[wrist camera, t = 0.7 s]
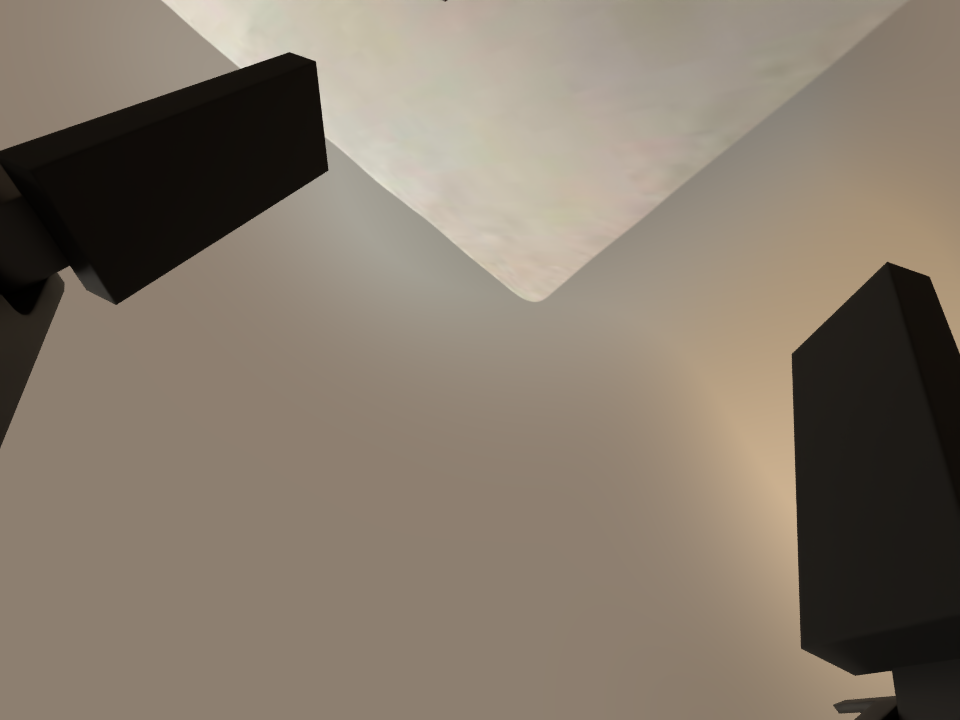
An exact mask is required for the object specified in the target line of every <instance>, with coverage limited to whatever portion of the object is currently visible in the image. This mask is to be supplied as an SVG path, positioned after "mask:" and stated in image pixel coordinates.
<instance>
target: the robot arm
mask: <svg viewBox="0 0 960 720" xmlns="http://www.w3.org/2000/svg"><path fill="white" fill-rule="evenodd" d="M327 171H328V162H327V154H326V146H325V136H324V128H323V119H322V110H321V102H320V93H319V84H318V76H317V67H316V61H313V60H310V59H307V58H305V57H302V56H299V55H296V54H293V53H290V52H289V53H286V54H283V55H280V56H277V57H274V58H271V59H268V60H265V61H262V62H259V63H257V64H254V65H251V66H248V67H245V68H242V69H239V70H236V71H233V72H231V73H227V74H224V75H221V76H218V77H216V78H212V79H210V80H207V81H204V82H201V83H198V84H195V85H192V86H189V87H186V88H183V89H181V90H177V91H174V92H171V93H168V94H166V95H163V96H160V97H157V98H154V99H151V100H148V101H145V102H142V103H139V104H136V105H133V106H130V107H127V108H124V109H122V110H119V111H116V112H113V113H110V114H107V115H104V116H101V117H98V118H95V119H92V120H89V121H86V122H83V123H81V124H78V125H75V126H72V127H69V128H66V129H63V130H60V131H57V132H54V133H51V134H48V135H45V136H43V137H40V138H36V139H34V140H31V141H28V142H25V143H22V144H19V145H16V146H13V147H10V148H7V149H4V150H2V151H0V447H1V444H2V442H3V440H4V437H5V435H6V432H7V430H8V428H9V425H10V423H11V420H12V418H13V415H14V413H15V410H16V408H17V405H18V403H19V400H20V398H21V395H22V393H23V391H24V388H25V386H26V383H27V381H28V378H29V376H30V373H31V371H32V368H33V366H34V363H35V361H36V359H37V356H38V354H39V351H40V349H41V346H42V344H43V341H44V339H45V336H46V334H47V331H48V329H49V327H50V324H51V322H52V319H53V317H54V314H55V311H56V309H57V307H58V304H59V302H60V300H61V297H62V295H63V292H64V282H63V280H62V279H61V277H60V276H59V275H58V273H57V272H58V271H60V270H62V269H64V268H66V267H68V266H71V268H72V269H73V271H74V272H75V274H76V275H77V277H78V278H79V280H80V281H81V282H82V284H83V285H84V287H85V288H86V290H88V291H90V292H92V293H94V294H96V295H98V296H100V297H102V298H104V299H106V300H108V301H110V302H112V303H113V304H115V305H117V304H118V303H120V302H122V301H123V300H125V299H126V298H128V297H130V296H131V295H133V294H134V293H136V292H137V291H139V290H141V289H142V288H144V287H145V286H147V285H148V284H150V283H151V282H153V281H155V280H156V279H158V278H159V277H161V276H163V275H164V274H166V273H167V272H169V271H171V270H172V269H173V268H175V267H177V266H178V265H180V264H182V263H183V262H185V261H186V260H188V259H189V258H191V257H193V256H194V255H196V254H197V253H199V252H200V251H202V250H204V249H205V248H207V247H208V246H210V245H212V244H213V243H215V242H216V241H218V240H219V239H221V238H223V237H224V236H226V235H227V234H229V233H230V232H232V231H233V230H235V229H237V228H238V227H240V226H242V225H243V224H245V223H246V222H248V221H249V220H251V219H253V218H254V217H256V216H257V215H259V214H260V213H262V212H264V211H265V210H267V209H268V208H270V207H271V206H273V205H275V204H276V203H278V202H279V201H281V200H283V199H284V198H286V197H287V196H289V195H290V194H292V193H294V192H295V191H297V190H298V189H300V188H301V187H303V186H304V185H306V184H308V183H309V182H311V181H313V180H314V179H316V178H317V177H319V176H320V175H322V174H323V173H325V172H327ZM792 376H793V406H794V407H793V409H794V441H795V472H796V503H797V534H798V535H797V536H798V566H799V596H800V597H799V599H800V631H801V649H803V650H805V651H807V652H809V653H811V654H813V655H815V656H817V657H819V658H821V659H823V660H825V661H827V662H829V663H831V664H833V665H835V666H837V667H839V668H841V669H843V670H845V671H847V672H849V673H851V674H853V675H855V676H856V675H863V674H871V673H878V672H885V671H892V673H893V680H894V687H895V694H896V696H890V697H878V698H865V699H855V700H844V701H842V702H839V703H837V704H834V705H833V706H834V707H835V708H836V710H837V711H838V712H839V713H855V712H856V713H857V712H860V713H861V714H860V715H859V716H858V717H857V718H856V719H855V720H960V353H959V351H958V348H957V346H956V343H955V341H954V338H953V335H952V333H951V330H950V328H949V325H948V323H947V320H946V318H945V315H944V312H943V310H942V307H941V305H940V302H939V300H938V297H937V294H936V292H935V289H934V287H933V284H932V282H931V279H930V277H929V276H926V275H923V274H920V273H917V272H915V271H911V270H909V269H906V268H903V267H900V266H897V265H895V264H892V263H889V262H887V263H886V264H885V265H883V266H882V267H881V268H880V269H879V270H878V271H877V272H876V273H875V274H874V275H873V276H872V277H871V278H870V279H869V280H868V281H867V282H866V283H865V284H864V285H863V286H862V287H861V288H860V289H859V290H858V291H857V292H856V293H855V294H854V295H852V296H851V297H850V298H849V299H848V300H847V301H846V302H845V303H844V304H843V305H842V306H841V307H840V308H839V309H838V310H837V311H836V312H835V313H834V314H833V315H832V316H831V317H830V318H829V319H828V320H827V321H826V322H824V323H823V324H822V325H821V326H820V327H819V328H818V329H817V330H816V331H815V332H814V333H813V334H812V335H811V336H810V337H809V338H808V339H807V340H806V341H805V342H804V343H803V344H802V345H801V346H800V347H799V348H798V349H797V350H796V351H794V353H792Z"/></svg>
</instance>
